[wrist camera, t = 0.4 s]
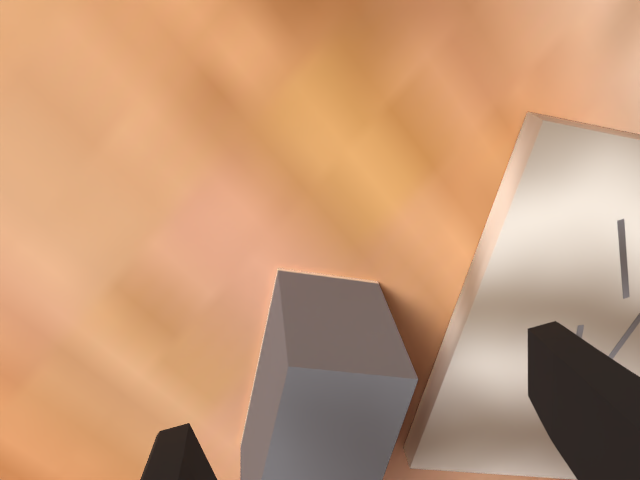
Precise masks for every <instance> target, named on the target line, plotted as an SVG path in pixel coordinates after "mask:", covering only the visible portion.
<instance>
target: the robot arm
mask: <svg viewBox="0 0 640 480" xmlns="http://www.w3.org/2000/svg"><path fill="white" fill-rule="evenodd" d="M528 397H529V399H530V401H531V403H532V405H533V407H534V409H535V411H536V413H537V415H538V417H539V419H540V421H541V422H542V424H543V426H544V428H545V430H546V432H547V434H548V436H549V437H550V439H551V441H552V442H553V444H554V445H555V447H556V449H557V450H558V452H559V453H560V455H561V456H562V458H563V459H564V460H565V462H566V463H567V465H568V466H569V468H570V469H571V471H572V472H573V474H574V475H575V477H576V478H577V480H640V377H639V376H638V375H636V374H635V373H633V372H631V371H630V370H628V369H627V368H625V367H624V366H622V365H621V364H619V363H618V362H616V361H615V360H613V359H612V358H610V357H609V356H607V355H606V354H604V353H603V352H601V351H600V350H598V349H597V348H595V347H594V346H592V345H591V344H589V343H588V342H586V341H585V340H583V339H582V338H581V337H579V336H578V335H576V334H575V333H573V332H572V331H570V330H569V329H567V328H566V327H564V326H563V325H561V324H560V323H558V322H557V321H553V322H550V323H546V324H543V325H539V326H535V327H532V328H528ZM140 480H217V478H216V476H215V474H214V472H213V470H212V468H211V466H210V464H209V462H208V460H207V458H206V456H205V454H204V452H203V450H202V448H201V446H200V444H199V442H198V440H197V438H196V436H195V434H194V432H193V430H192V428H191V426H190V424H189V423H188V424H184V425H180V426H177V427H173V428H170V429H166V430H163V431H160V432H159V433H158V435H157V436H156V439H155V442H154V445H153V447H152V450H151V453H150V455H149V458H148V461H147V464H146V466H145V469H144V472H143V474H142V477H141V479H140Z"/></svg>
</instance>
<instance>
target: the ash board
mask: <svg viewBox="0 0 640 480" xmlns="http://www.w3.org/2000/svg"><path fill="white" fill-rule="evenodd" d="M553 321H557V322H558V323H560V324H561V325H563V326H564V327H566V328H567V329H569V330H570V331H572V332H573V333H575V334H576V335H578V336H579V337H581V338H582V339H583V340H585V341H586V342H588V343H589V344H591V345H592V346H594V347H595V348H597V349H598V350H600V351H601V352H603V353H604V354H606V355H607V356H609V357H610V358H612V359H613V360H615V361H616V362H618V363H619V364H621V365H622V366H624V367H625V368H627V369H628V370H630V371H631V372H633V373H635V374H636V375H638V376H639V377H640V135H639V134H634V133H629V132H624V131H619V130H615V129H610V128H605V127H600V126H595V125H590V124H585V123H581V122H576V121H571V120H566V119H561V118H556V117H552V116H547V115H542V114H537V113H532V112H527V114H526V117H525V120H524V122H523V125H522V128H521V130H520V133H519V136H518V139H517V141H516V144H515V147H514V149H513V152H512V155H511V157H510V160H509V163H508V166H507V168H506V171H505V174H504V176H503V179H502V182H501V185H500V187H499V190H498V193H497V195H496V198H495V201H494V203H493V206H492V209H491V212H490V214H489V217H488V220H487V222H486V225H485V228H484V231H483V233H482V236H481V239H480V241H479V244H478V247H477V249H476V252H475V255H474V258H473V260H472V263H471V266H470V268H469V271H468V274H467V277H466V279H465V282H464V285H463V287H462V290H461V293H460V295H459V298H458V301H457V304H456V306H455V309H454V312H453V314H452V317H451V320H450V323H449V325H448V328H447V331H446V333H445V336H444V339H443V341H442V344H441V347H440V350H439V352H438V355H437V358H436V360H435V363H434V366H433V369H432V371H431V374H430V377H429V379H428V382H427V385H426V388H425V390H424V393H423V396H422V398H421V401H420V404H419V406H418V409H417V412H416V415H415V417H414V420H413V423H412V425H411V428H410V431H409V434H408V436H407V439H406V442H405V444H404V447H403V449H404V452H405V455H406V458H407V461H408V465H409V468H410V469H425V470H440V471H455V472H470V473H485V474H500V475H515V476H530V477H545V478H560V479H575V480H577V478H576V477H575V475H574V474H573V472H572V471H571V469H570V468H569V466H568V465H567V463H566V462H565V460H564V459H563V458H562V456H561V455H560V453H559V452H558V450H557V449H556V447H555V445H554V444H553V442H552V441H551V439H550V437H549V436H548V434H547V432H546V430H545V428H544V426H543V424H542V422H541V421H540V419H539V417H538V415H537V413H536V411H535V409H534V407H533V405H532V403H531V401H530V399H529V397H528V328H532V327H535V326H539V325H543V324H546V323H550V322H553Z"/></svg>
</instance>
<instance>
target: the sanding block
mask: <svg viewBox="0 0 640 480" xmlns="http://www.w3.org/2000/svg"><path fill="white" fill-rule="evenodd" d="M417 382H418V377H417V375H416V372H415V370H414V367H413V365H412V363H411V360H410V358H409V355H408V353H407V351H406V348H405V346H404V343H403V341H402V338H401V336H400V334H399V331H398V329H397V326H396V324H395V321H394V319H393V317H392V314H391V312H390V309H389V307H388V305H387V302H386V300H385V297H384V295H383V292H382V290H381V288H380V285H379V283H378V281H372V280H364V279H357V278H349V277H342V276H334V275H327V274H319V273H312V272H304V271H297V270H289V269H282V268H278V269H277V274H276V279H275V283H274V288H273V293H272V298H271V302H270V307H269V312H268V317H267V321H266V326H265V331H264V336H263V340H262V345H261V350H260V355H259V359H258V364H257V369H256V374H255V378H254V383H253V388H252V393H251V397H250V402H249V407H248V412H247V416H246V421H245V426H244V431H243V435H242V440H241V479H240V480H382V479H383V477H384V474H385V471H386V468H387V465H388V463H389V460H390V457H391V454H392V452H393V449H394V446H395V443H396V440H397V438H398V435H399V432H400V429H401V426H402V424H403V421H404V418H405V415H406V413H407V410H408V407H409V404H410V401H411V399H412V396H413V393H414V390H415V387H416V385H417Z"/></svg>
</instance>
